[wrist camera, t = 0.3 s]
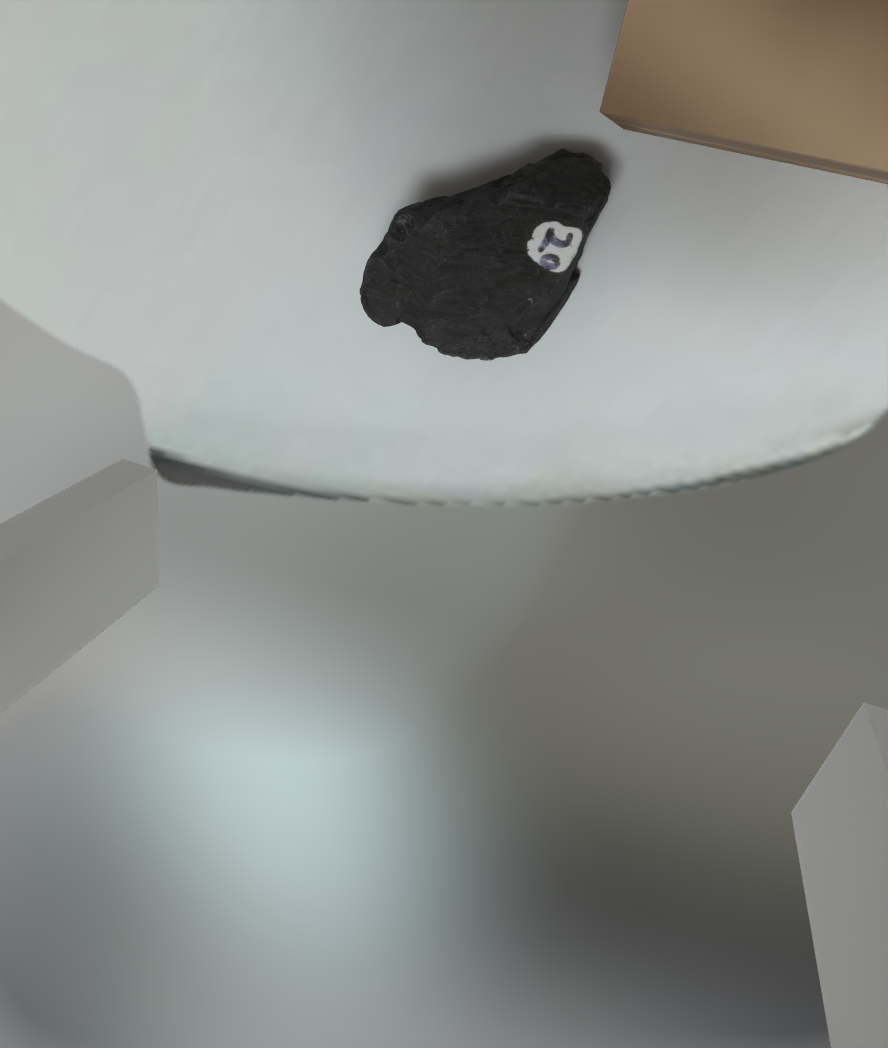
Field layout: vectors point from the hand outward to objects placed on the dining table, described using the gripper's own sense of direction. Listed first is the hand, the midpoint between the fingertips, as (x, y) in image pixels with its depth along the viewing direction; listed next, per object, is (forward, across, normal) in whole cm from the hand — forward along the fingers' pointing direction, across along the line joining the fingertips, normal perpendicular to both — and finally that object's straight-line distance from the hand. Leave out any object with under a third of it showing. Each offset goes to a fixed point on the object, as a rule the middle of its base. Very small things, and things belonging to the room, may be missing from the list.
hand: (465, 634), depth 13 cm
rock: (+28, -6, +2) cm, 28 cm away
